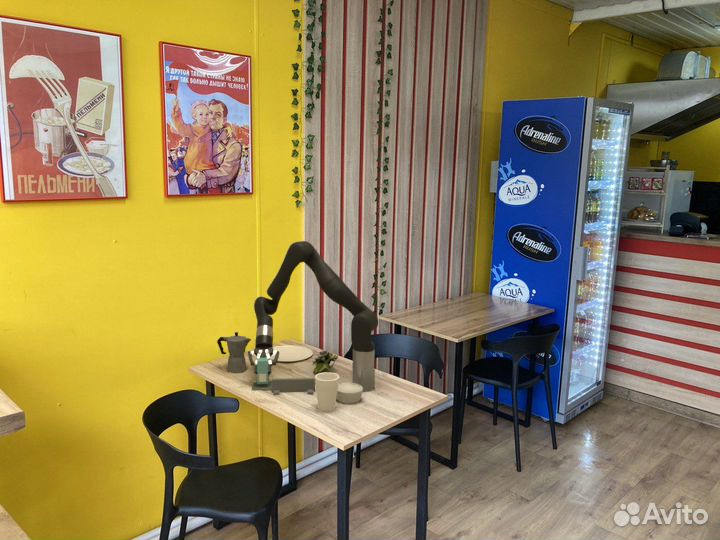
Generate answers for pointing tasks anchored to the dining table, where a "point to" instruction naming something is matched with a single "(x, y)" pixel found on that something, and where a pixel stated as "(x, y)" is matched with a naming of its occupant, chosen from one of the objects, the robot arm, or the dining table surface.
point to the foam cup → (326, 390)
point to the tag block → (262, 371)
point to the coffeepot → (235, 352)
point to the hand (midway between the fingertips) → (262, 373)
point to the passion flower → (324, 361)
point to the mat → (262, 386)
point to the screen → (293, 385)
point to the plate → (291, 353)
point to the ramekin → (349, 393)
